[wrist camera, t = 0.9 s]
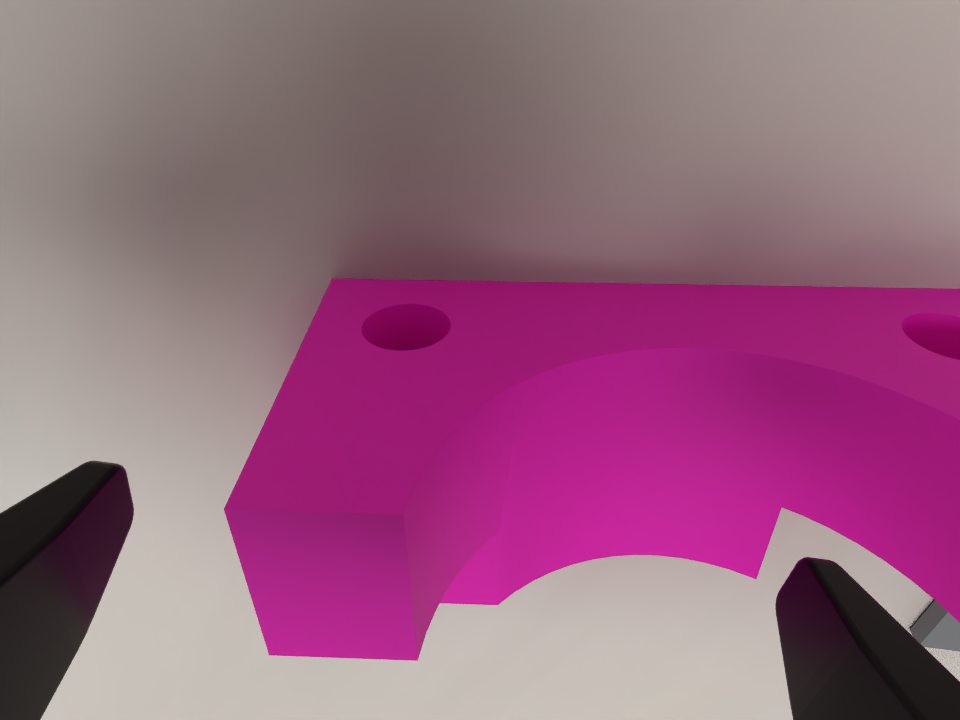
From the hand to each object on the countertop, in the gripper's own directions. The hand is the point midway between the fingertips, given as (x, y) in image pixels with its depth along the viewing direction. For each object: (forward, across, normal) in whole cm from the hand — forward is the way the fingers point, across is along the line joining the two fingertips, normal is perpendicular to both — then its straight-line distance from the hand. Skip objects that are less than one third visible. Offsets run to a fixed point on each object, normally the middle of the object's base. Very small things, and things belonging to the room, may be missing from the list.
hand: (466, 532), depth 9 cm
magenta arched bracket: (+8, -4, +3) cm, 10 cm away
